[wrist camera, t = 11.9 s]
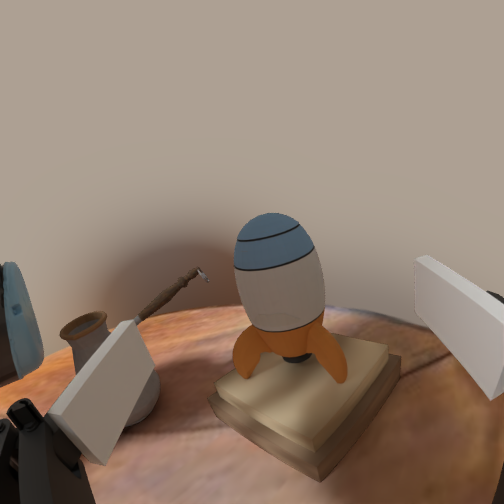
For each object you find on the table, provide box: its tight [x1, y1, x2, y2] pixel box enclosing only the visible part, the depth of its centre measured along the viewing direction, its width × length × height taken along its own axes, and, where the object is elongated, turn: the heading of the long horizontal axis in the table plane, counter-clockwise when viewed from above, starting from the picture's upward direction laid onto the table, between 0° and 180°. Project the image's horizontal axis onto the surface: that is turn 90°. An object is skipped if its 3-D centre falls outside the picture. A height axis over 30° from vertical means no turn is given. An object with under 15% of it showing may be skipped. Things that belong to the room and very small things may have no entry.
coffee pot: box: [60, 267, 209, 427], centre depth 29 cm, size 21×12×15 cm, turn 104°
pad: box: [207, 332, 401, 482], centre depth 25 cm, size 14×14×5 cm
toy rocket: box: [233, 213, 348, 384], centre depth 23 cm, size 10×11×15 cm
